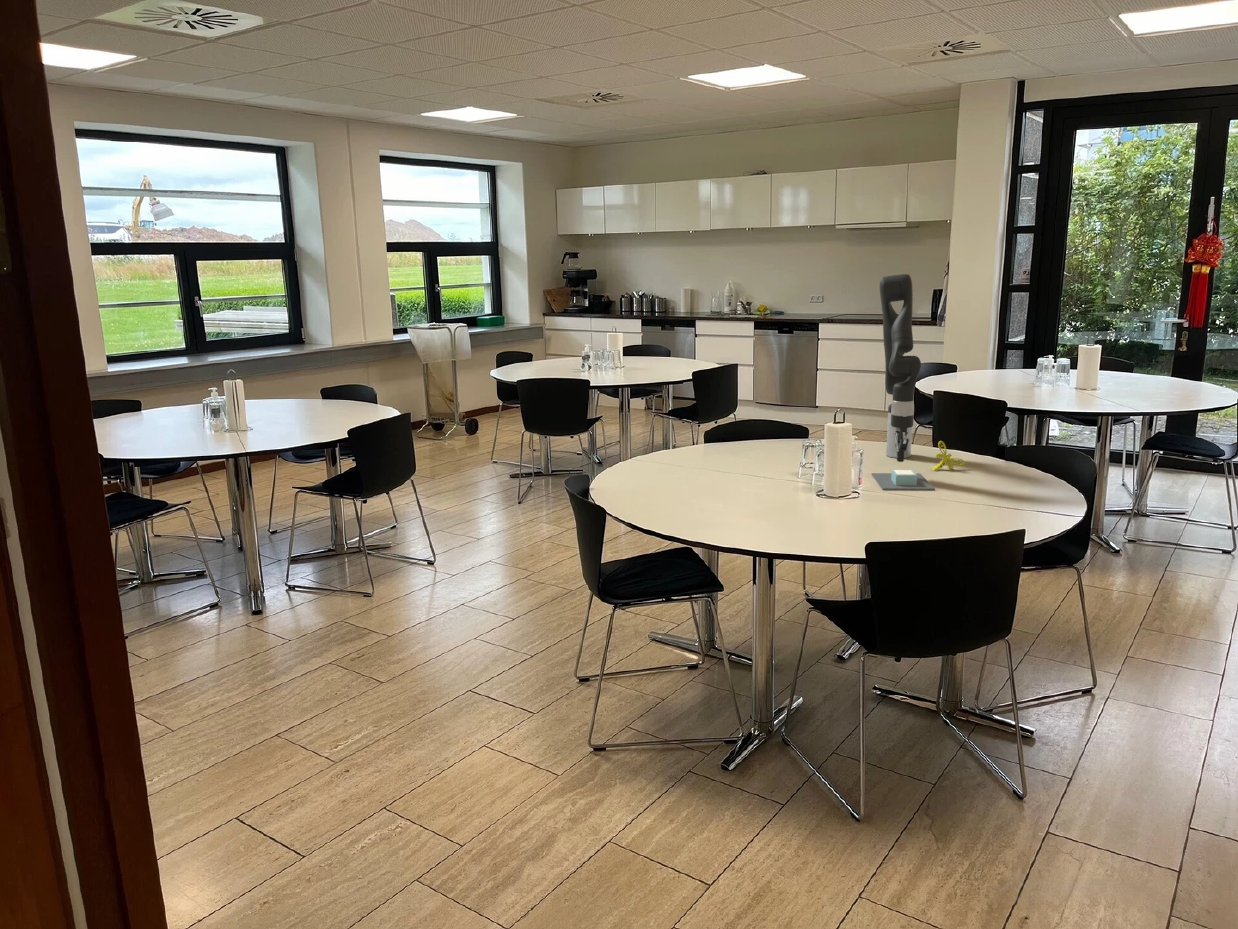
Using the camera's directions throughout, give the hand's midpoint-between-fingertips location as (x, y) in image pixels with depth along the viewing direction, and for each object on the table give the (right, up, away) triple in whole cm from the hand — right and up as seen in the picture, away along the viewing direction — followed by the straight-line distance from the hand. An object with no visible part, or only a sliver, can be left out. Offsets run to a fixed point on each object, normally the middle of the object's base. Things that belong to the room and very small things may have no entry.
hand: (900, 461), depth 320 cm
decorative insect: (+22, -3, +12) cm, 25 cm away
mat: (-1, -7, -5) cm, 9 cm away
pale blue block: (-1, -5, -4) cm, 6 cm away
